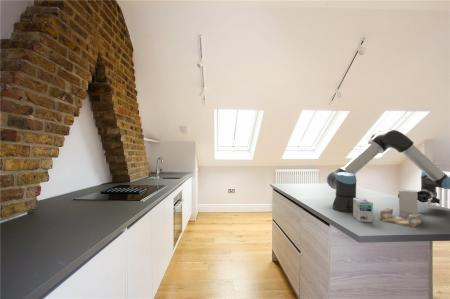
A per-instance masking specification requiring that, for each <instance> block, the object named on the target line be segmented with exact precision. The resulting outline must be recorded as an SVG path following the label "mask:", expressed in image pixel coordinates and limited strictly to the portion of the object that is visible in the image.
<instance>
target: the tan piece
mask: <svg viewBox="0 0 450 299" xmlns="http://www.w3.org/2000/svg"><path fill="white" fill-rule="evenodd" d="M393 212H394V209H393V208H390V207H386V208H384V209H382V210H380V217H379V220H380V221H383V222H388V223H392V224H398V225H400V226H406V227H409V228H416V227H417V226H419V225H420V224H422V221H421V219H422V218H421V216H422V215H421V213H419V212H418V213H414V214H412V215H409V219H407V218H402V217H399V216H397V215H394V213H393Z"/></svg>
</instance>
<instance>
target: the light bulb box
mask: <svg viewBox="0 0 450 299" xmlns="http://www.w3.org/2000/svg"><path fill="white" fill-rule="evenodd" d="M373 206H374V203H373V202H372V201H370V200H368V199H367V198H358V197H356V198H353V212H352V213H353V214H352V217H353V218H355V220H357V221H358V222H360V223H361V222H363V223H373V222H374V221H373V220H374V217H373V216H374V210H373V209H374V208H373Z"/></svg>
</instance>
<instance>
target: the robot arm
mask: <svg viewBox="0 0 450 299" xmlns="http://www.w3.org/2000/svg"><path fill="white" fill-rule="evenodd" d="M414 143H415V142H413V141H412V140H411V138H410V137H408V136H407V135H406V134H404V133H402V131H399V130H396V129H388V130H379V131H377V132H374V133H373V134H371V137H370V140H368V141H367V145H366V146H365V147H364V148H363V149H362V150H361V151H359V152H358V153H357V155H355V156H354V157H352V158H351V160H350V161H348V162H347V163H346V164H345V165H344V166H343V167H339V168H337V169H336V170H335V171H333V172H330V173H328V175H327V176H326V183H327V184H328V186H329V187H330V188H331V189H334V190H335V197H334V200H333V203H332V209H333V210H334V211H338V212H345V213H353V198H357V175H356V174H357V173H358V172H360V171H361V170H362V169H363V168H364V167H365V166H366V165H367V164H369V162H370V161H371V162H372V160H373V159H374V158H375V157H376V156H378V154H383V153H384V152H385V151H387V150H388V149H389V148H390V149H394V150H396V152H398V153H399V154H401V153H402V154H403V156H405V157H406V158H407V159H408V160H409V161H411V163H412V164H414V165H415V166H416V167H417V168H418V169H420V171H421V176H420V178H421V179H420V182H421V183H420V190H417V202H418V203H419V202H420V203H427V205H431V204H439V205H440V203H441V199H440V198H438V192H437V190H436V189H437V188H440V189H445V190H450V176H448V175H447V174H446V173H445V172H444V171H443V170H441V169H440V167H438V166H437V165H436V164H435V163H434V162H432V160H431V159H430V158H428V157H427V155H425V154H424V153H423V152H422V151H421V150H419V148H417V147H416V145H414ZM397 198H398V199H399V193H397Z"/></svg>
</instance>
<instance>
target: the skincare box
mask: <svg viewBox="0 0 450 299" xmlns="http://www.w3.org/2000/svg"><path fill="white" fill-rule="evenodd" d="M417 192H418V190H414V189H413V190H412V189H411V190H410V189H399V190H398V194H399V198H398V206H399V209H398V214H399V216H398V217H402V218H407V219H409V215H412V214H414V213H418V214H419V212H418V211H419V208H418V206H419V204H418V203H419V201H418V200H417Z"/></svg>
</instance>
